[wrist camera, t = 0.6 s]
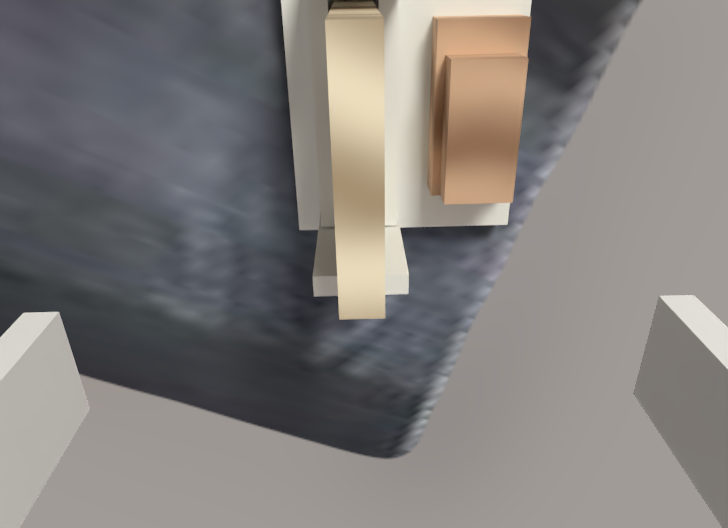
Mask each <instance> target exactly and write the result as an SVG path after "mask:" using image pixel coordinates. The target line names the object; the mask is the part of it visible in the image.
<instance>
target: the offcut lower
mask: <svg viewBox="0 0 728 528" xmlns="http://www.w3.org/2000/svg"><path fill="white" fill-rule="evenodd" d="M530 25H531V17H529V16H525V15H522V14H518V15H475V16H433V34H432V63H431V92H430V121H429V150H428V179H427V185H428V188H429V191H430V194H431V196H437V195H440V170H441V147H442V125H443V103H444V81H445V59H446V55H461V54H502V53H519V54H521V55H523V56H525V57H527V52H528V43H529V34H530Z"/></svg>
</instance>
